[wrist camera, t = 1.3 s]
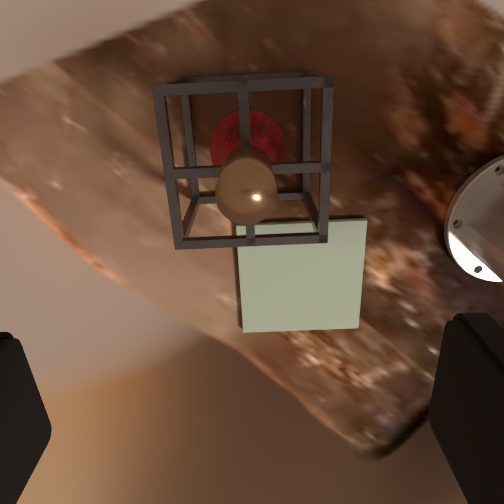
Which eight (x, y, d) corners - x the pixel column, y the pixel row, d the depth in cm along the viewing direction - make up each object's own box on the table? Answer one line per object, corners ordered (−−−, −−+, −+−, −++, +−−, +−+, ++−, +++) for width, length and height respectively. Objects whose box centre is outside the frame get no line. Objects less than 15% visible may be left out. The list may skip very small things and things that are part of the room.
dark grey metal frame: (310, 70, 32) (354, 80, 18) (308, 196, 36) (342, 279, 23) (179, 77, 32) (127, 91, 19) (193, 201, 37) (160, 287, 23)
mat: (365, 218, 37) (367, 220, 37) (356, 324, 43) (358, 328, 42) (236, 223, 38) (235, 226, 37) (243, 329, 43) (243, 332, 42)
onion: (208, 110, 33) (196, 125, 26) (277, 99, 33) (284, 110, 26) (221, 179, 36) (213, 209, 29) (285, 169, 35) (294, 197, 28)
